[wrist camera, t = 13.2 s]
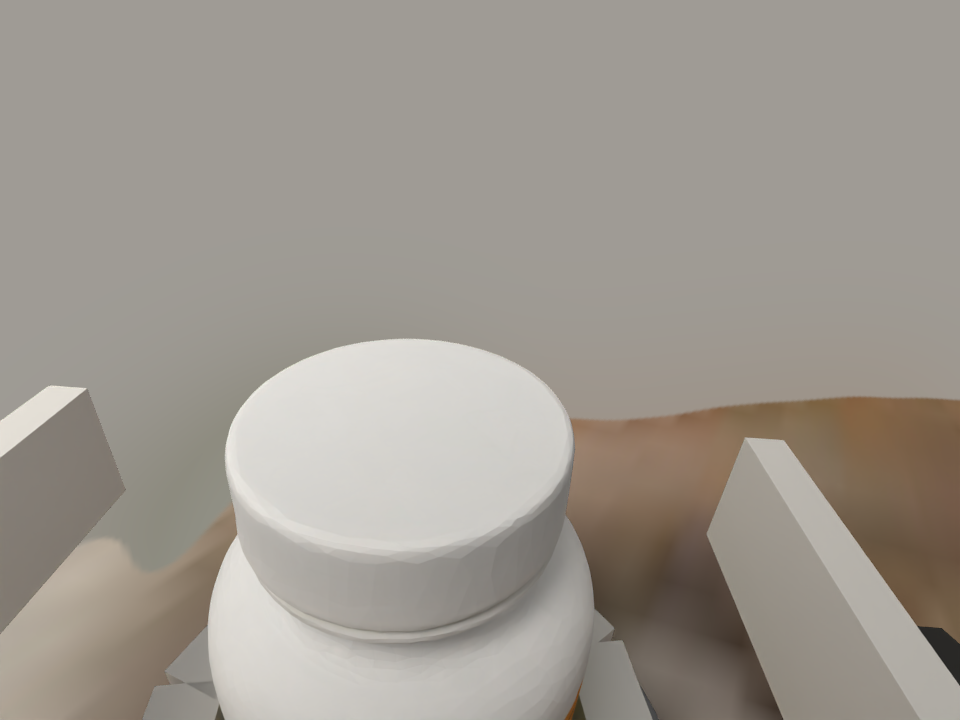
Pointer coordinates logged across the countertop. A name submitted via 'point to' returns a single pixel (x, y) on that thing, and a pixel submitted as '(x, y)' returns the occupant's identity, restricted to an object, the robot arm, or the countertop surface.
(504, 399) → the supplement bottle
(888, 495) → the countertop surface
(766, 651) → the robot arm
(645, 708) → the bottle holder
